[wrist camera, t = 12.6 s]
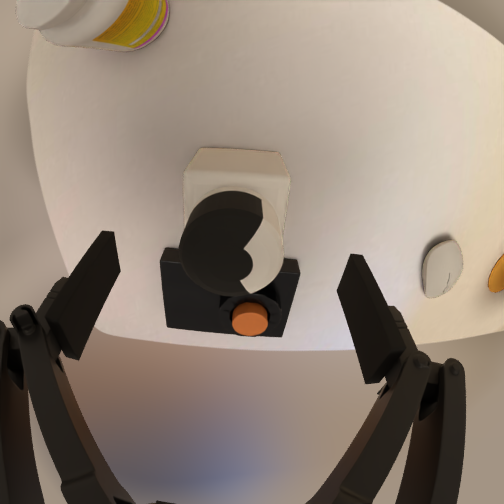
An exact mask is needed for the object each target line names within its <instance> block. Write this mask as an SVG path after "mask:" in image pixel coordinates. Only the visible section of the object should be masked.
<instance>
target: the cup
mask: <svg viewBox="0 0 504 504" xmlns="http://www.w3.org/2000/svg"><path fill="white" fill-rule="evenodd" d="M488 287H489V289H490V291H491V292H495V293H496V292H499V291H501V290H503V289H504V255H503V256H502V257H501V258H500V259H499V260H498V262H497V263H496V265H495V266H494V268H493V270H492V272H491V275H490V277H489V282H488Z"/></svg>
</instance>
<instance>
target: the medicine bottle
mask: <svg viewBox="0 0 504 504" xmlns="http://www.w3.org/2000/svg"><path fill="white" fill-rule="evenodd" d="M290 184H291V179H290V176H289V174H288V171H287V169H286V166H285V164H284V161H283V159H282V157H281V154H280V153H278V152H270V151H257V150H243V149H224V148H200V149H199V150H198V152H197V153H196V155H195V156H194V157H193V159H192V160H191V162H190V163H189V165H188V166H187V168H186V169H185V171H184V173H183V202H184V232H183V234H182V237H181V240H180V244H179V258H180V262H181V265H182V267H183V269H184V271H185V272H186V274H187V275H188V276H189V277H190V279H191V280H193V281H194V282H195V283H196V284H197V285H199V286H200V287H202V288H203V289H205V290H207V291H209V292H212V293H214V294H218V295H222V296H243V295H247V294H251V293H254V292H256V291H258V290H260V289H262V288H264V287H265V286H267V285H268V284H269V283H270V282H271V281H272V280H274V278H275V277H276V276H277V274H278V273H279V271H280V269H281V267H282V264H283V259H284V248H283V242H282V238H283V232H284V225H285V218H286V212H287V205H288V198H289V191H290Z"/></svg>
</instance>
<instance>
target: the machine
mask: <svg viewBox="0 0 504 504" xmlns="http://www.w3.org/2000/svg"><path fill="white" fill-rule="evenodd" d="M160 269H161V280H162V290H163V299H164V308H165V316H166V324H167V327H168V328H176V329H184V330H193V331H202V332H213V333H224V334H236V335H238V336H246V335H242V334H239V333H238V332H236V331H235V330H234V328H233V326H232V318H233V311H234V309H235V308H236V307H237V306H238V305H240V304H243V303H246V302H249V303H258V304H260V305H262V306H263V307H264V308H265V309H266V311H267V320H268V326H267V328H266V330H265V331H264V332H262V333H260V334H258V335H254V336H251V337H256V336H265V337H282V335H283V332H284V329H285V325H286V322H287V319H288V315H289V312H290V309H291V305H292V302H293V298H294V295H295V291H296V288H297V284H298V280H299V277H300V270H299V266H298V261H297V260H293V259H283V264H282V267H281V269H280V271H279V273H278V274H277V276H276V277H275V278H274V280H272V281H271V282H270V283H269V284H268V285H267V286H265V287H264V288H262V289H260V290H258V291H256V292H254V293H251V294H247V295H243V296H222V295H218V294H214V293H212V292H209V291H207V290H205V289H203V288H202V287H200V286H199V285H197V284H196V283H195V282H194V281H193V280H191V279H190V277H189V276H188V275H187V274H186V272H185V271H184V269H183V267H182V265H181V262H180V258H179V249H174V248H165V250H164V252H163V254H162V257H161V259H160Z"/></svg>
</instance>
